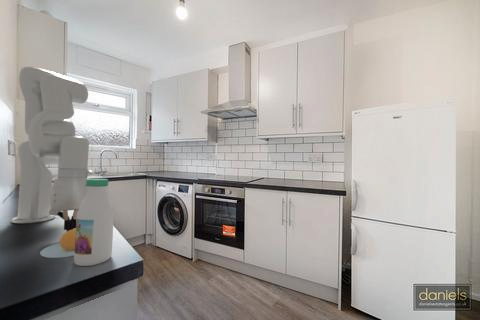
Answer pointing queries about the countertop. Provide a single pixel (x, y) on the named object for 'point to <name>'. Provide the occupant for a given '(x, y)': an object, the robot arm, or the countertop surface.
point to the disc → (56, 252)
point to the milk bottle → (94, 225)
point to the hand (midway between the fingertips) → (69, 231)
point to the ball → (68, 240)
